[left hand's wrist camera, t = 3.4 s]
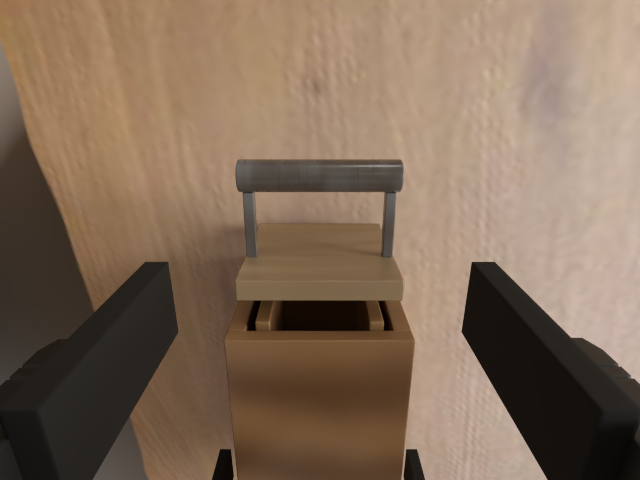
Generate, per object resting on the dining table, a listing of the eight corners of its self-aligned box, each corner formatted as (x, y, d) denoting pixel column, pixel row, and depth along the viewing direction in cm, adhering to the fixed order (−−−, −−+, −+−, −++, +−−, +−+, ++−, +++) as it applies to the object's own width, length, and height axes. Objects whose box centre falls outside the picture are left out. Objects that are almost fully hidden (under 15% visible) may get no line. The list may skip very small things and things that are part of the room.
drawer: (254, 145, 28) (223, 171, 19) (384, 145, 28) (415, 171, 19) (269, 403, 36) (252, 507, 27) (370, 403, 36) (386, 507, 27)
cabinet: (256, 255, 32) (223, 340, 21) (383, 255, 32) (415, 340, 21) (266, 431, 38) (245, 565, 27) (372, 431, 38) (393, 565, 27)
